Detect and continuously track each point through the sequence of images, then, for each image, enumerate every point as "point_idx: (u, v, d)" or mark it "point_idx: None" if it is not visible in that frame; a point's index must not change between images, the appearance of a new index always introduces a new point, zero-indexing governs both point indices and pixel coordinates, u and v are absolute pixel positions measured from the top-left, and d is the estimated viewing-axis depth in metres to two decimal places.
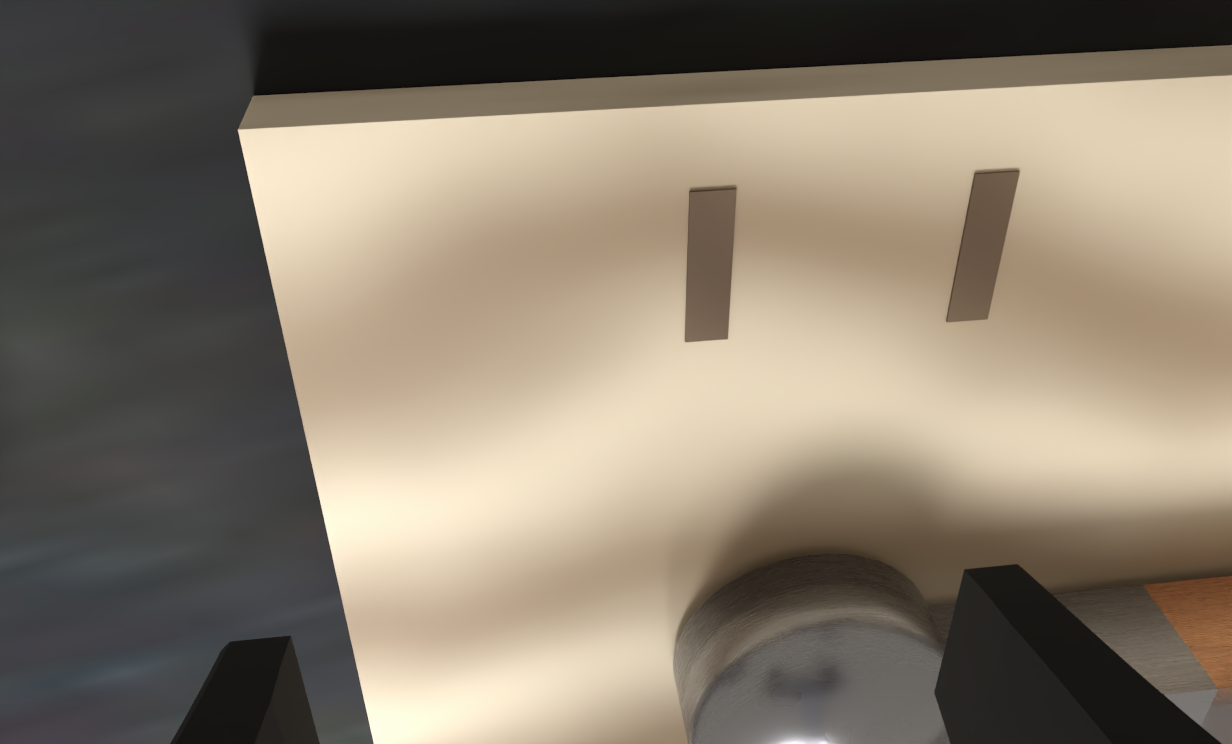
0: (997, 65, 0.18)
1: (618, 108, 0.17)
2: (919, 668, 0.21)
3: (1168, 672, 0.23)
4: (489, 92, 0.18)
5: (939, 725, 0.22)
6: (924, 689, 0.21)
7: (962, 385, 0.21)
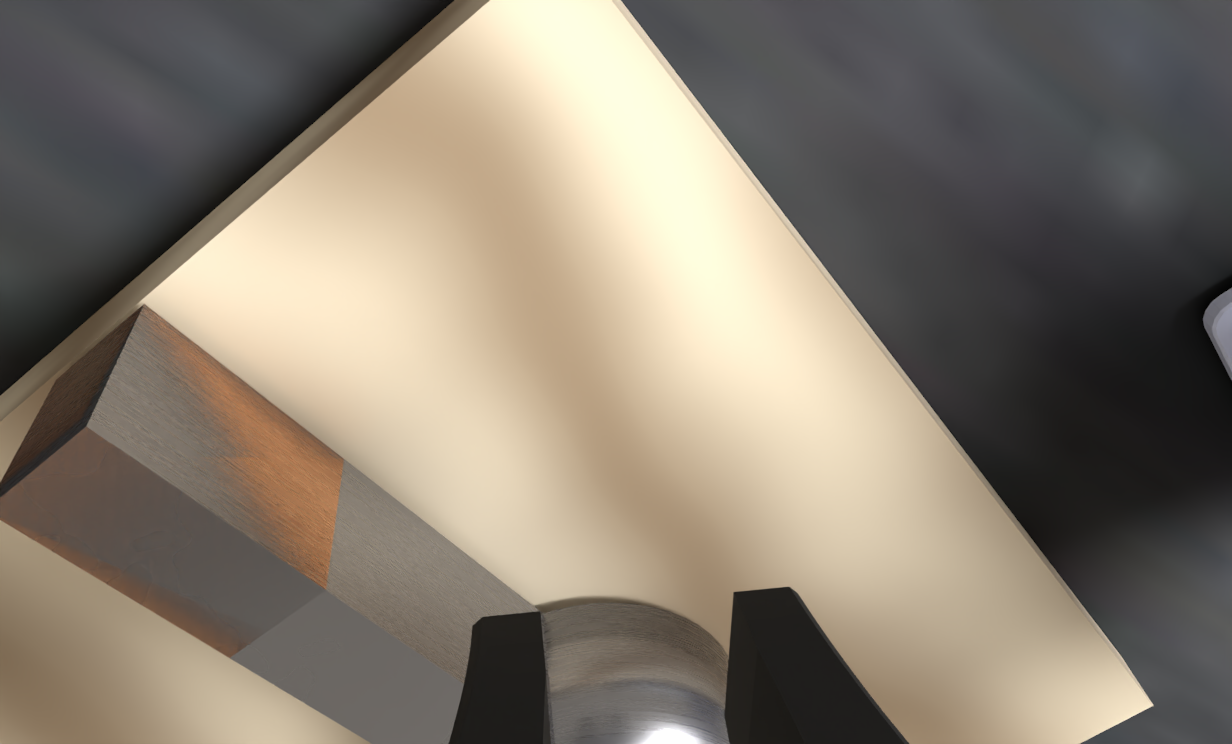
0: None
1: None
2: None
3: None
4: None
5: None
6: None
7: None
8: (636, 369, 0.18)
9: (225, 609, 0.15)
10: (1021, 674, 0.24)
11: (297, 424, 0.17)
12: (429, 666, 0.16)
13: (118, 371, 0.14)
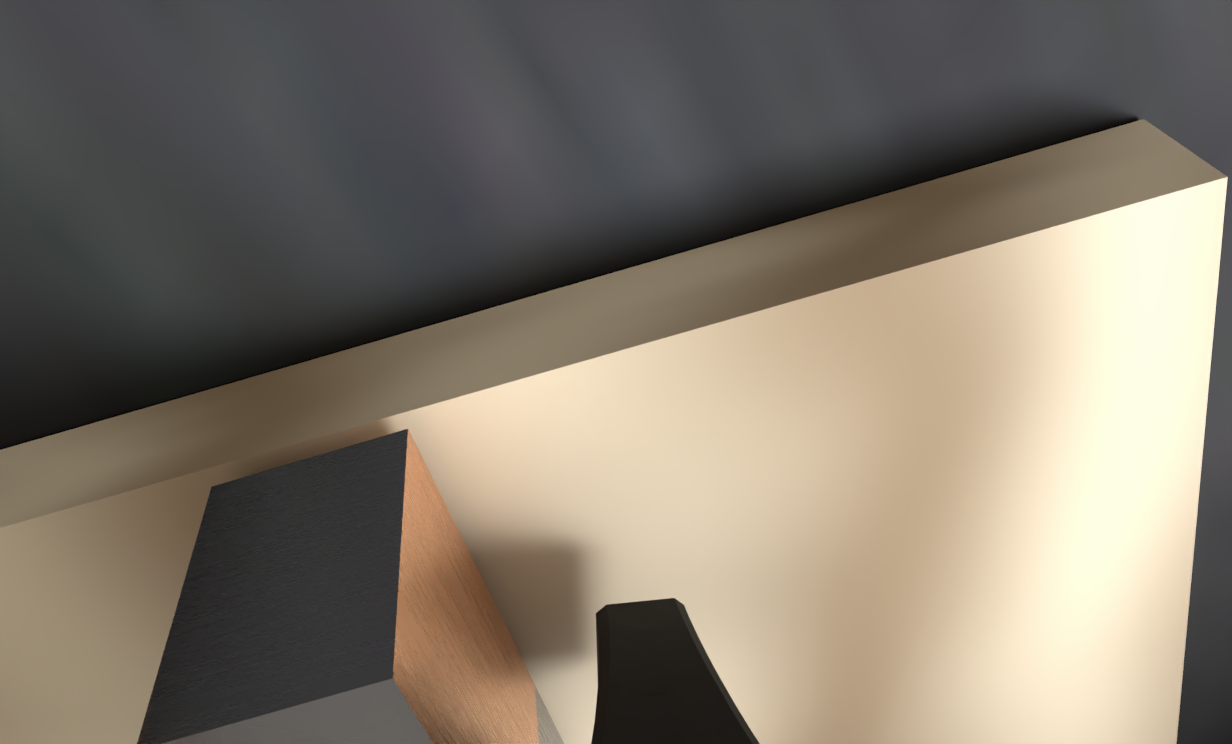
0: None
1: None
2: None
3: None
4: None
5: None
6: None
7: None
8: (932, 669, 0.14)
9: None
10: None
11: (507, 631, 0.12)
12: None
13: (403, 558, 0.09)
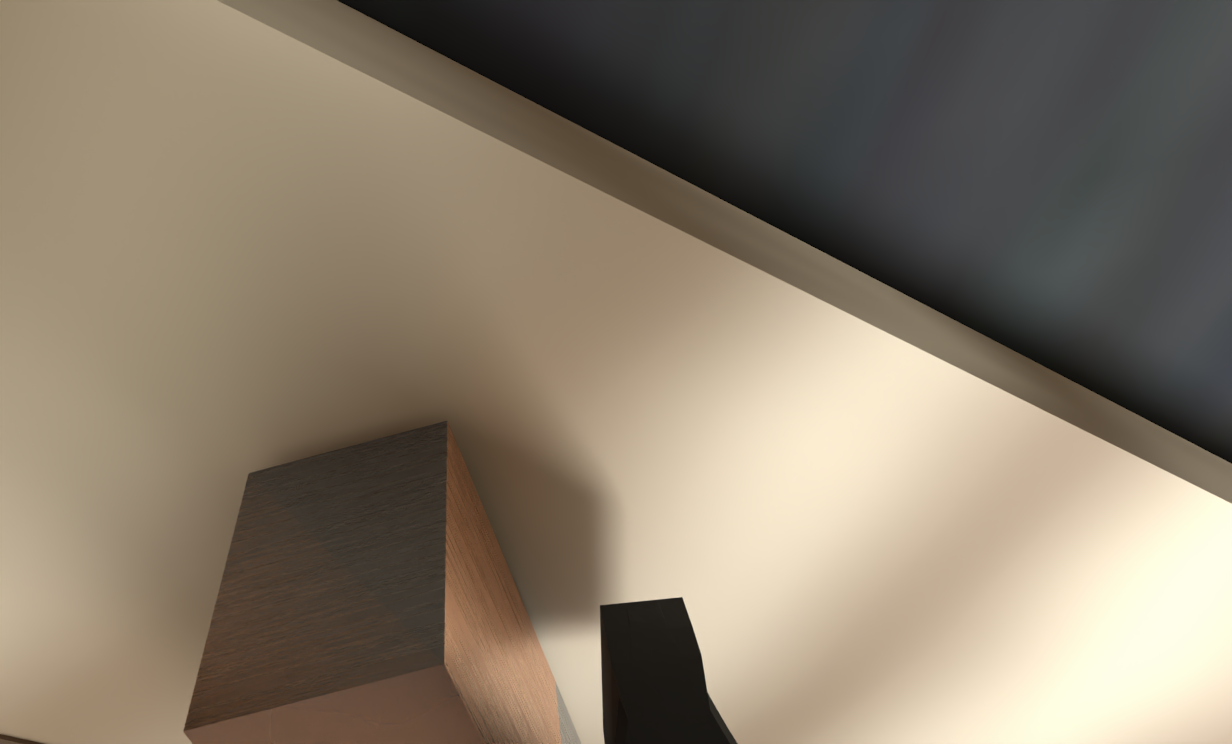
0: None
1: None
2: None
3: None
4: None
5: None
6: None
7: None
8: None
9: None
10: None
11: (532, 626, 0.12)
12: None
13: (448, 548, 0.09)
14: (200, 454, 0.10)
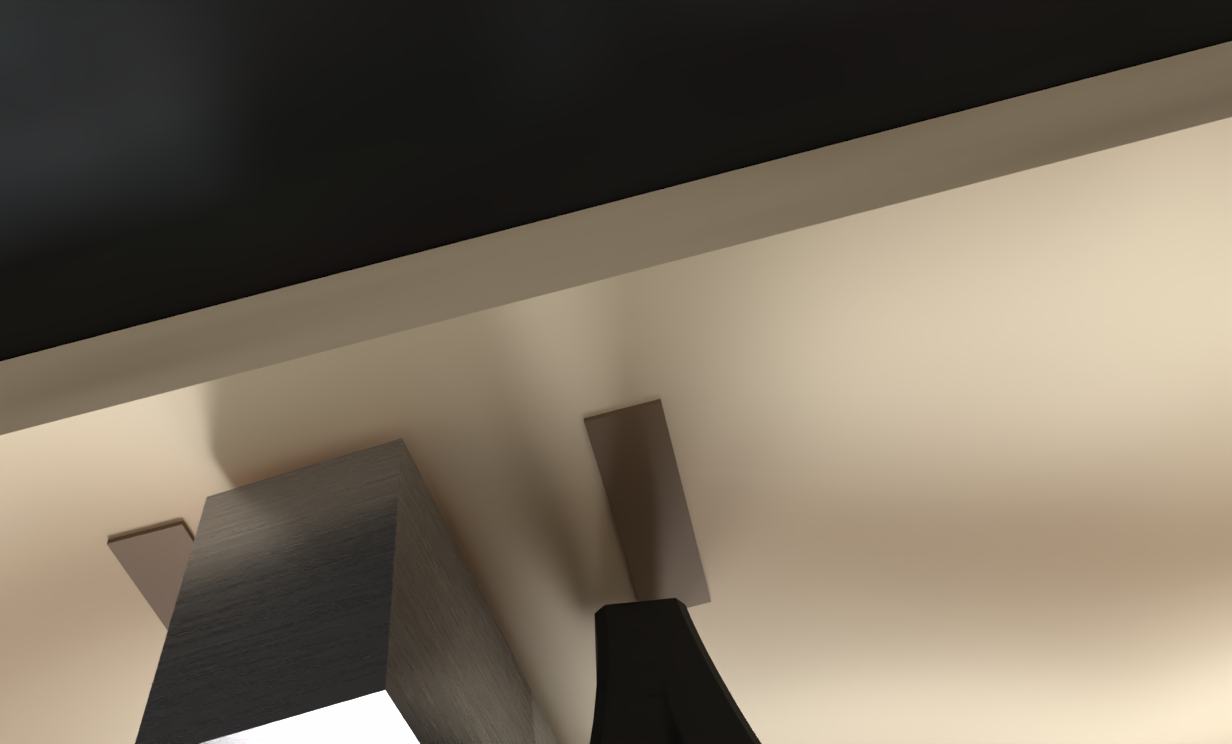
0: (593, 226, 0.11)
1: None
2: None
3: None
4: None
5: None
6: None
7: None
8: None
9: None
10: None
11: None
12: None
13: (396, 570, 0.09)
14: (1121, 431, 0.12)
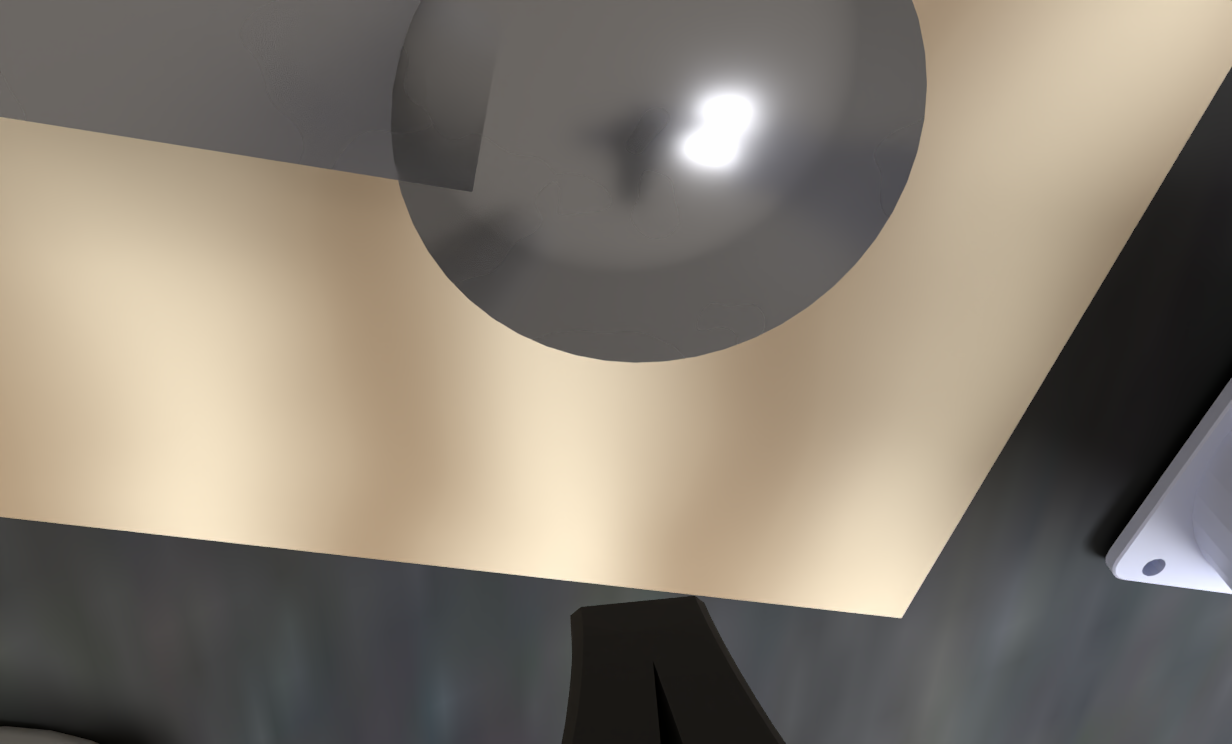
0: None
1: None
2: (509, 326, 0.13)
3: None
4: None
5: (474, 177, 0.12)
6: (502, 278, 0.13)
7: None
8: None
9: None
10: (890, 477, 0.20)
11: None
12: None
13: None
14: None
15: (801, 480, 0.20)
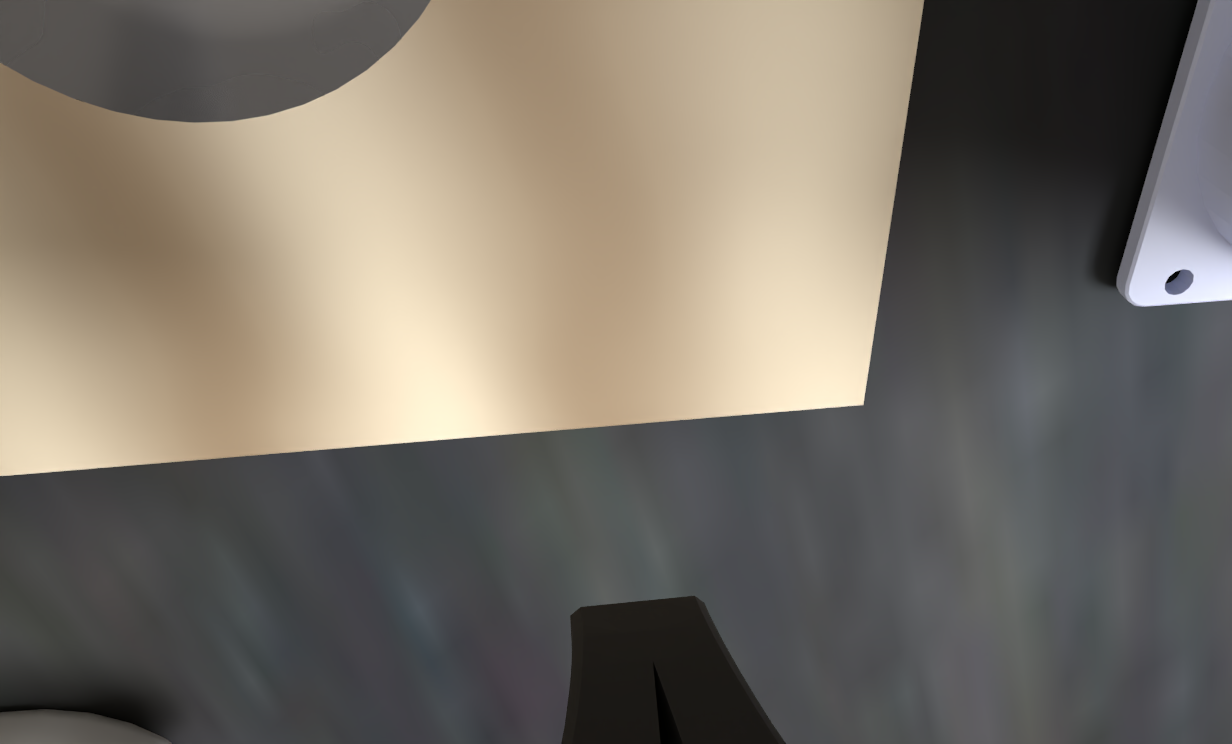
0: None
1: None
2: (99, 104, 0.11)
3: None
4: None
5: None
6: (56, 44, 0.11)
7: None
8: None
9: None
10: (774, 233, 0.17)
11: None
12: None
13: None
14: None
15: (667, 261, 0.17)
